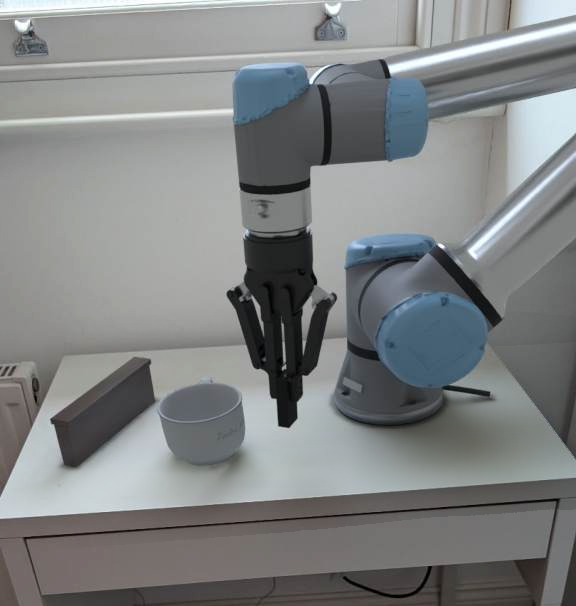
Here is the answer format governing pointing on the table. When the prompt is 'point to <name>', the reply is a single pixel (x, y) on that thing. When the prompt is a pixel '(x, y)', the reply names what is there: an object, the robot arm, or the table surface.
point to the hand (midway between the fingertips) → (287, 422)
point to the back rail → (103, 410)
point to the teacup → (203, 421)
